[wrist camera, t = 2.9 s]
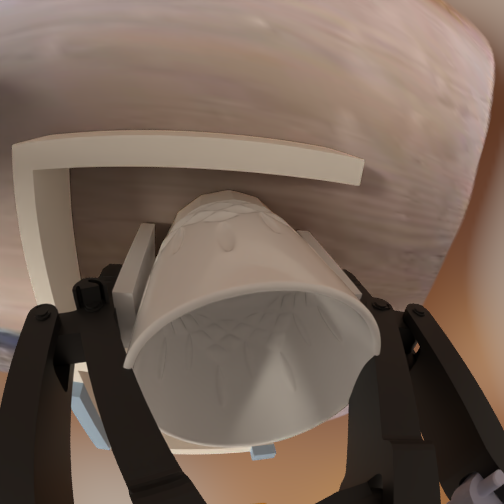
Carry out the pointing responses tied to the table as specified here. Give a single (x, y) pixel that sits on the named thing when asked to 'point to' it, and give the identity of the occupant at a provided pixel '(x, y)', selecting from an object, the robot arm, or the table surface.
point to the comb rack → (136, 155)
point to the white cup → (245, 329)
